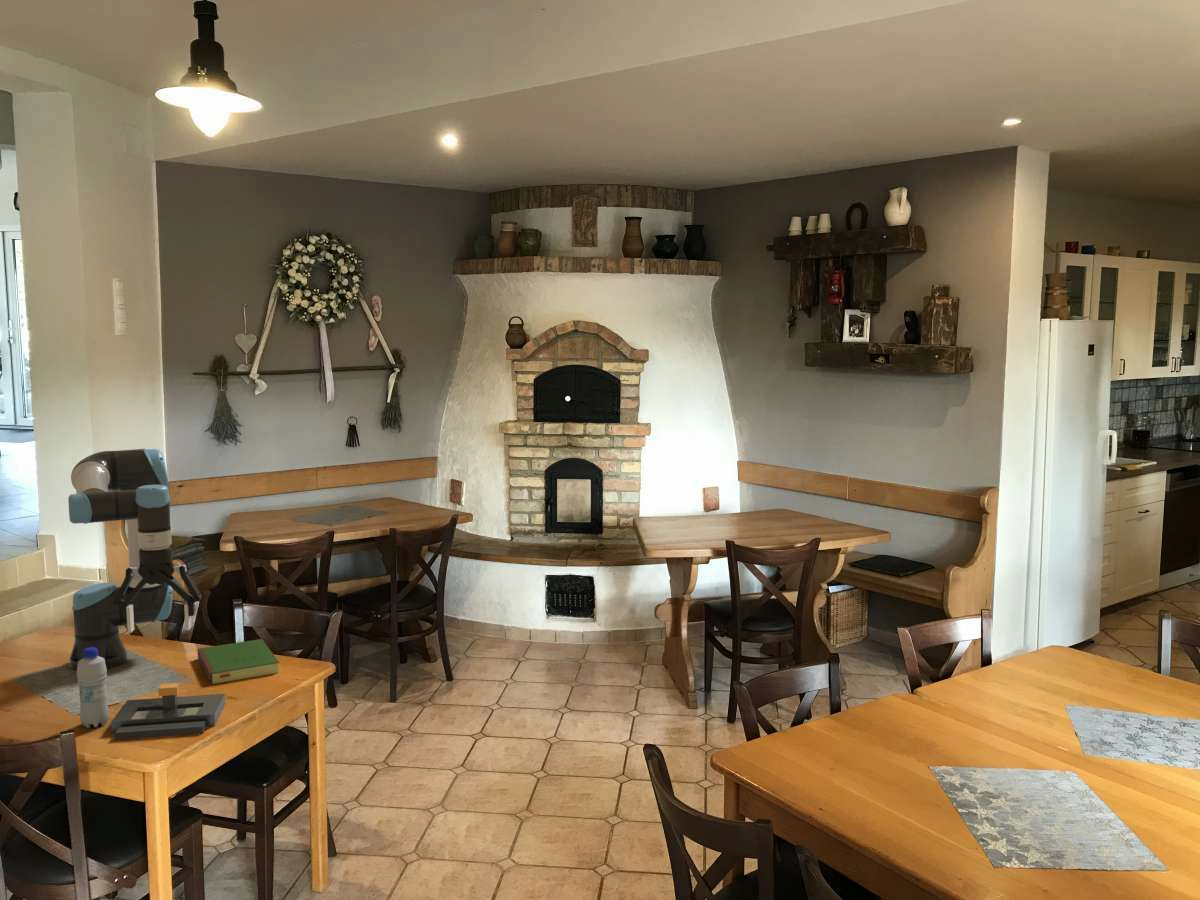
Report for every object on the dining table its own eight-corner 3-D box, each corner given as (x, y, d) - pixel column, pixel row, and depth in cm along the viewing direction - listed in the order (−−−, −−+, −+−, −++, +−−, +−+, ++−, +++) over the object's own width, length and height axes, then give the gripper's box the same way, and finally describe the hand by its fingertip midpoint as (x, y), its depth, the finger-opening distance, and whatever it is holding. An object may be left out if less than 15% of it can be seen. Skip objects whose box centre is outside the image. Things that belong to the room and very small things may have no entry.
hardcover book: (198, 660, 285) (197, 648, 284) (262, 650, 294) (261, 638, 294) (211, 687, 264) (210, 674, 263) (280, 675, 273) (279, 662, 273)
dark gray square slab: (139, 706, 248) (138, 699, 248) (219, 700, 252) (219, 694, 252) (115, 740, 228) (114, 732, 228) (202, 733, 232) (202, 726, 232)
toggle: (162, 710, 242) (161, 684, 241) (180, 708, 242) (179, 683, 242) (159, 714, 239) (158, 688, 238) (178, 713, 240) (176, 687, 239)
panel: (127, 711, 245) (127, 699, 245) (225, 704, 250) (224, 692, 250) (111, 733, 232) (110, 721, 231) (214, 725, 236) (214, 713, 236)
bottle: (97, 731, 233) (92, 653, 230) (73, 728, 234) (68, 651, 232) (116, 720, 239) (111, 644, 237) (93, 717, 241) (88, 642, 238)
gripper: (96, 552, 229) (101, 637, 231) (204, 548, 233) (208, 631, 235) (107, 545, 236) (111, 628, 238) (211, 542, 240) (215, 623, 242)
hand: (159, 630), depth 237 cm, fingers open, 13 cm apart
